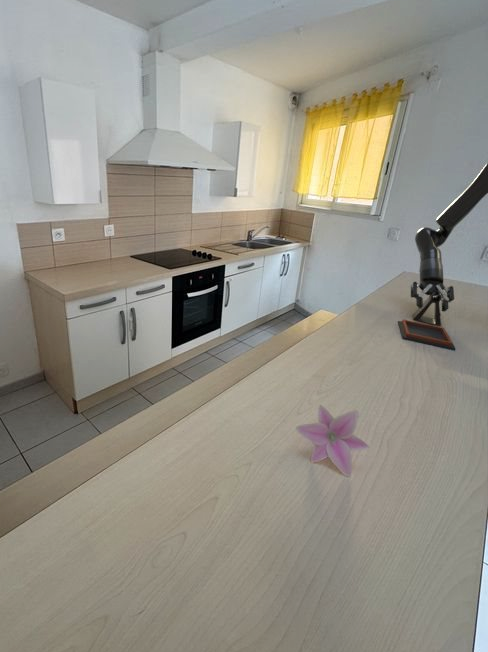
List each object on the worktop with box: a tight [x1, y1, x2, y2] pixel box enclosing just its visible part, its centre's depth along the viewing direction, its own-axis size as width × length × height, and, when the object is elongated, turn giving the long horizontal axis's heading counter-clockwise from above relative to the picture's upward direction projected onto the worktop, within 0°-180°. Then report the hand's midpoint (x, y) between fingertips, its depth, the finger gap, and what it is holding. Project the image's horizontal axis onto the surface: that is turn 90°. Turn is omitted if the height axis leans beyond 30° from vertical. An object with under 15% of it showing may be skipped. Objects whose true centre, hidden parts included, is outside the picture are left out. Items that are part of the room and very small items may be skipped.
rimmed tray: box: [397, 319, 456, 351], centre depth 115 cm, size 15×15×2 cm
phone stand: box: [412, 290, 442, 327], centre depth 125 cm, size 9×6×12 cm, turn 57°
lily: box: [295, 404, 370, 478], centre depth 63 cm, size 12×12×10 cm
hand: (432, 309), depth 124 cm, fingers open, 7 cm apart
